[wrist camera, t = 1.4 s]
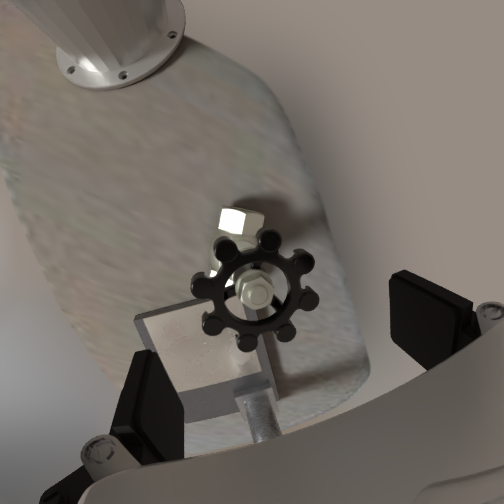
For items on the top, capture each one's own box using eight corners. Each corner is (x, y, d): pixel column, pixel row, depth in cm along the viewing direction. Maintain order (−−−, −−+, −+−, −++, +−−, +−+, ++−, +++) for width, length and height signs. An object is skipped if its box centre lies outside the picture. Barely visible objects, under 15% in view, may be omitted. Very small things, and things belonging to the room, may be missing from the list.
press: (135, 315, 25) (66, 554, 4) (247, 284, 27) (372, 526, 5) (188, 421, 30) (204, 599, 8) (278, 398, 31) (353, 569, 9)
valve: (275, 214, 26) (335, 241, 14) (260, 285, 27) (303, 356, 16) (200, 200, 24) (201, 217, 13) (188, 274, 26) (183, 346, 14)
